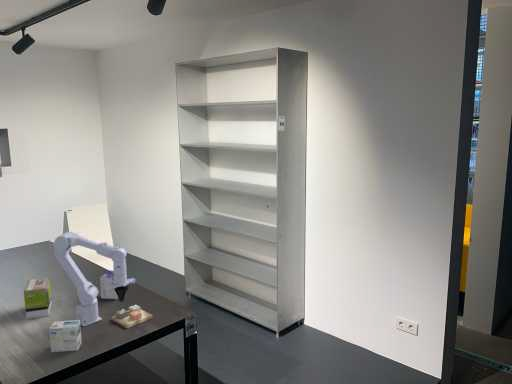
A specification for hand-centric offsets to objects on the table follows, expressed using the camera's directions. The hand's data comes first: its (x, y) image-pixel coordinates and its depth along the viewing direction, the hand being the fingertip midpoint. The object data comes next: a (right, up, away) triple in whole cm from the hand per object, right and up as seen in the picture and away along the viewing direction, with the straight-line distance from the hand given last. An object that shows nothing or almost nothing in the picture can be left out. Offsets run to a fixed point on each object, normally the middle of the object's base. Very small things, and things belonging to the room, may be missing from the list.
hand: (121, 300), depth 200 cm
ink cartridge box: (-14, -5, +27) cm, 31 cm away
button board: (+5, -9, +2) cm, 10 cm away
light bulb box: (-15, -14, -24) cm, 32 cm away
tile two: (+5, -7, +6) cm, 11 cm away
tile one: (+7, -8, 0) cm, 11 cm away
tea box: (-44, -8, +10) cm, 46 cm away
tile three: (0, -8, +1) cm, 8 cm away
